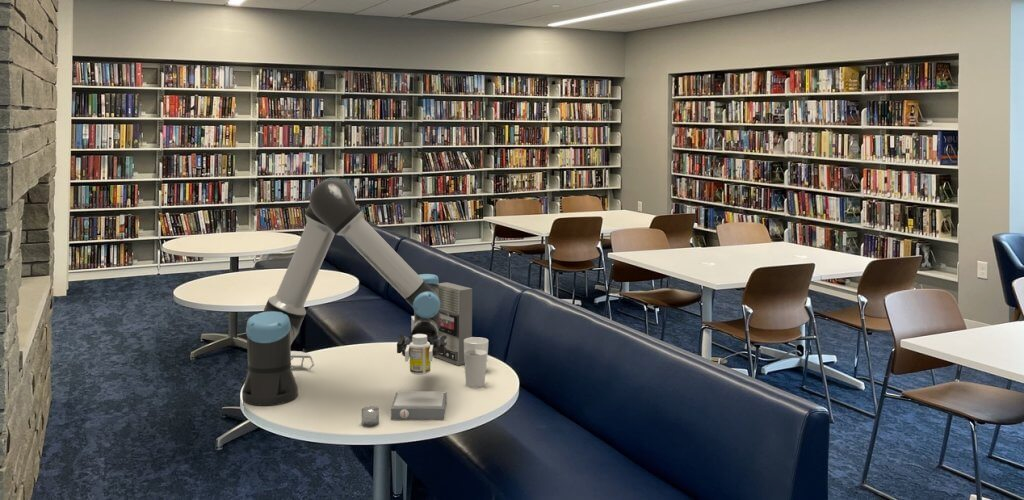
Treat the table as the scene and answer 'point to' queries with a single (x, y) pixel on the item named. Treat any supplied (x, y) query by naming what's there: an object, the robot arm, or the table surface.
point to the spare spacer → (370, 416)
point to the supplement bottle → (419, 355)
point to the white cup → (476, 345)
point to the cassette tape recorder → (454, 320)
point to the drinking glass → (475, 368)
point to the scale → (419, 405)
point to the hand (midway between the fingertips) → (418, 356)
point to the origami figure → (301, 355)
